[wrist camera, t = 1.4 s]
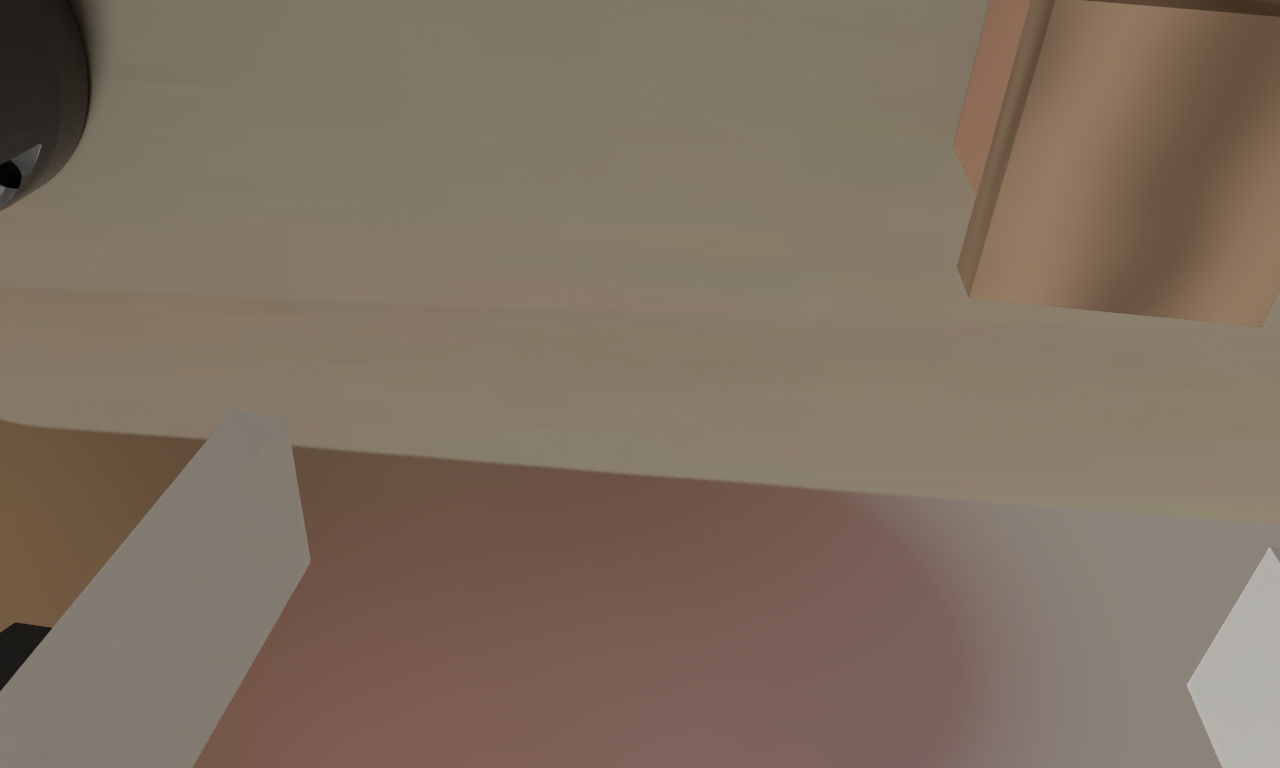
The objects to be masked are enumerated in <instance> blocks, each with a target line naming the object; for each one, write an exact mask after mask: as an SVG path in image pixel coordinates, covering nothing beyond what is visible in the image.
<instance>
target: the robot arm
mask: <svg viewBox="0 0 1280 768" xmlns="http://www.w3.org/2000/svg"><path fill="white" fill-rule="evenodd" d="M87 102H88V77H87V66H86V60H85V54H84V49H83V45H82V41H81V37H80V33H79V30H78V27H77V23H76V20H75V18H74V15H73V12H72V9H71V7H70V4H69V2H68V0H0V211H1V210H3V209H5V208H7V207H9V206H11V205H13V204H14V203H16V202H17V201H19V200H20V199H22V198H24V197H25V196H27V195H28V194H30V193H31V192H33V191H35V190H36V189H38V188H39V187H41V186H43V185H44V184H46V183H47V182H48V181H49V180H51V179H52V178H53V177H54V176H55V175H56V174H57V173H58V172H59V171H60V170H61V169H62V168H63V166H64V165H65V164H66V163H67V161H68V160H69V158H70V157H71V155H72V154H73V152H74V150H75V148H76V146H77V144H78V141H79V139H80V136H81V133H82V130H83V126H84V122H85V117H86V111H87ZM310 562H311V561H310V554H309V548H308V542H307V537H306V531H305V525H304V519H303V513H302V507H301V501H300V495H299V489H298V483H297V477H296V472H295V465H294V459H293V454H292V448H291V442H290V436H289V430H288V424H287V418H286V417H284V416H276V415H269V414H261V413H254V412H246V411H238V410H232V411H231V412H230V413H229V415H228V416H227V417H226V418H225V420H224V421H223V422H222V423H221V424H220V426H219V427H218V428H217V429H216V430H215V432H214V433H213V434H212V435H211V437H210V438H209V439H208V440H207V441H206V443H205V444H204V445H203V446H202V447H201V449H200V450H199V451H198V452H197V454H196V455H195V456H194V457H193V458H192V460H191V461H190V462H189V463H188V465H187V466H186V467H185V468H184V470H183V471H182V472H181V473H180V474H179V475H178V477H177V478H176V479H175V480H174V482H173V483H172V484H171V485H170V486H169V487H168V489H167V490H166V491H165V492H164V494H163V495H162V496H161V497H160V498H159V500H158V501H157V502H156V503H155V504H154V506H153V507H152V508H151V509H150V511H149V512H148V513H147V514H146V515H145V517H144V518H143V519H142V520H141V521H140V523H139V524H138V525H137V526H136V528H135V529H134V530H133V531H132V532H131V534H130V535H129V536H128V537H127V539H126V540H125V541H124V542H123V543H122V545H121V546H120V547H119V548H118V549H117V551H116V552H115V553H114V554H113V556H112V557H111V558H110V559H109V560H108V561H107V563H106V564H105V565H104V566H103V568H102V569H101V570H100V571H99V572H98V574H97V575H96V576H95V577H94V579H93V580H92V581H91V582H90V583H89V585H88V586H87V587H86V588H85V589H84V591H83V592H82V593H81V594H80V595H79V597H78V598H77V599H76V600H75V602H74V603H73V604H72V605H71V606H70V608H69V609H68V610H67V611H66V612H65V614H64V615H63V616H62V617H61V619H60V620H59V621H58V622H57V624H56V625H55V626H54V627H53V628H50V627H43V626H35V625H29V624H22V623H14V624H12V625H11V626H9V627H8V628H7V629H5V630H4V631H2V632H0V768H192V767H193V765H194V764H195V762H196V760H197V758H198V757H199V755H200V753H201V751H202V750H203V748H204V746H205V745H206V743H207V741H208V739H209V738H210V736H211V734H212V732H213V731H214V729H215V727H216V725H217V724H218V722H219V720H220V718H221V717H222V715H223V713H224V711H225V710H226V708H227V706H228V705H229V703H230V701H231V699H232V698H233V696H234V694H235V692H236V691H237V689H238V687H239V685H240V684H241V682H242V680H243V678H244V677H245V675H246V673H247V671H248V670H249V668H250V666H251V665H252V663H253V661H254V659H255V658H256V656H257V654H258V652H259V651H260V649H261V647H262V645H263V644H264V642H265V640H266V639H267V636H268V635H269V633H270V632H271V630H272V628H273V626H274V624H275V623H276V621H277V619H278V618H279V616H280V614H281V612H282V611H283V609H284V607H285V605H286V604H287V602H288V600H289V599H290V597H291V595H292V593H293V591H294V590H295V588H296V586H297V584H298V583H299V581H300V579H301V578H302V576H303V574H304V572H305V571H306V569H307V567H308V565H309V564H310ZM1187 687H1188V689H1189V692H1190V694H1191V697H1192V699H1193V701H1194V703H1195V706H1196V708H1197V710H1198V713H1199V715H1200V717H1201V720H1202V722H1203V724H1204V727H1205V729H1206V731H1207V733H1208V736H1209V738H1210V740H1211V743H1212V745H1213V747H1214V750H1215V752H1216V754H1217V757H1218V759H1219V761H1220V763H1221V766H1222V768H1280V548H1276V547H1269V549H1268V550H1267V552H1266V554H1265V555H1264V557H1263V559H1262V561H1261V562H1260V564H1259V566H1258V567H1257V569H1256V571H1255V572H1254V574H1253V576H1252V577H1251V579H1250V581H1249V582H1248V584H1247V586H1246V587H1245V589H1244V591H1243V592H1242V594H1241V596H1240V597H1239V599H1238V601H1237V602H1236V604H1235V606H1234V607H1233V609H1232V611H1231V612H1230V614H1229V616H1228V617H1227V619H1226V621H1225V622H1224V624H1223V626H1222V627H1221V629H1220V631H1219V632H1218V634H1217V636H1216V637H1215V639H1214V641H1213V642H1212V644H1211V646H1210V647H1209V649H1208V651H1207V652H1206V654H1205V656H1204V657H1203V659H1202V661H1201V662H1200V664H1199V666H1198V667H1197V669H1196V671H1195V672H1194V674H1193V676H1192V677H1191V679H1190V681H1189V682H1188V684H1187Z"/></svg>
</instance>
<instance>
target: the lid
mask: <svg viewBox="0 0 1280 768" xmlns="http://www.w3.org/2000/svg"><path fill="white" fill-rule="evenodd" d="M957 268H958V271H959V273H960V276H961V279H962V281H963V284H964V287H965V289H966V292H967V294H968V297H969V298H972V299H983V300H993V301H1003V302H1013V303H1023V304H1033V305H1043V306H1053V307H1063V308H1074V309H1084V310H1094V311H1104V312H1114V313H1124V314H1134V315H1144V316H1154V317H1165V318H1175V319H1185V320H1195V321H1205V322H1215V323H1225V324H1235V325H1245V326H1255V327H1262V325H1263V323H1264V321H1265V319H1266V317H1267V315H1268V313H1269V311H1270V309H1271V307H1272V305H1273V303H1274V301H1275V299H1276V297H1277V295H1278V293H1279V291H1280V1H1276V0H1031V1H1030V5H1029V9H1028V12H1027V16H1026V20H1025V23H1024V27H1023V30H1022V34H1021V38H1020V41H1019V45H1018V48H1017V52H1016V56H1015V59H1014V63H1013V67H1012V70H1011V74H1010V77H1009V81H1008V85H1007V88H1006V92H1005V95H1004V99H1003V103H1002V106H1001V110H1000V113H999V117H998V121H997V124H996V128H995V132H994V135H993V139H992V142H991V146H990V150H989V153H988V157H987V160H986V164H985V168H984V171H983V175H982V179H981V182H980V186H979V189H978V193H977V197H976V200H975V204H974V207H973V211H972V215H971V218H970V222H969V226H968V229H967V233H966V236H965V240H964V244H963V247H962V251H961V254H960V258H959V262H958V265H957Z"/></svg>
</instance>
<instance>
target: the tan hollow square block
mask: <svg viewBox="0 0 1280 768" xmlns="http://www.w3.org/2000/svg"><path fill="white" fill-rule="evenodd" d="M1030 1H1031V0H991V1H990V5H989V9H988V13H987V17H986V21H985V24H984V28H983V32H982V36H981V40H980V44H979V48H978V52H977V56H976V60H975V64H974V68H973V72H972V76H971V80H970V83H969V87H968V91H967V95H966V99H965V103H964V107H963V111H962V115H961V119H960V123H959V127H958V131H957V135H956V139H955V142H954V146H953V147H954V150H955V152H956V154H957V156H958V158H959V160H960V162H961V164H962V166H963V168H964V170H965V172H966V175H967V177H968V179H969V181H970V183H971V185H972V187H973V189H974V191H975V193H976V195H977V193H978V189H979V186H980V182H981V179H982V175H983V171H984V168H985V164H986V160H987V157H988V153H989V150H990V146H991V142H992V139H993V135H994V132H995V128H996V124H997V121H998V117H999V113H1000V110H1001V106H1002V103H1003V99H1004V95H1005V92H1006V88H1007V85H1008V81H1009V77H1010V74H1011V70H1012V67H1013V63H1014V59H1015V56H1016V52H1017V48H1018V45H1019V41H1020V38H1021V34H1022V30H1023V27H1024V23H1025V20H1026V16H1027V12H1028V9H1029V5H1030Z"/></svg>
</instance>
